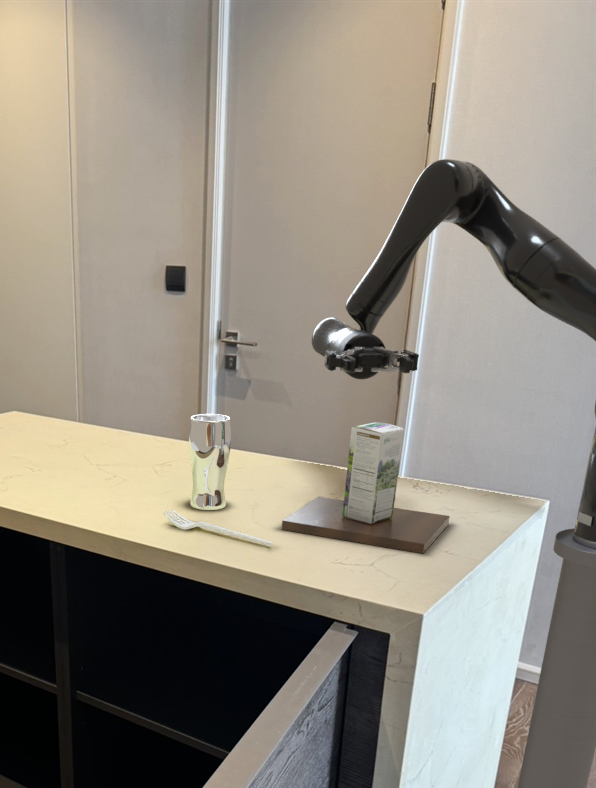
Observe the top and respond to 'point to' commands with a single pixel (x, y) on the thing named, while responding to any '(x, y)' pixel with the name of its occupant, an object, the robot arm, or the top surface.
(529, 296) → the robot arm
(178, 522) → the fork
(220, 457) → the beer glass
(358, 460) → the syrup box
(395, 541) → the walnut board
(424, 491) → the top surface
